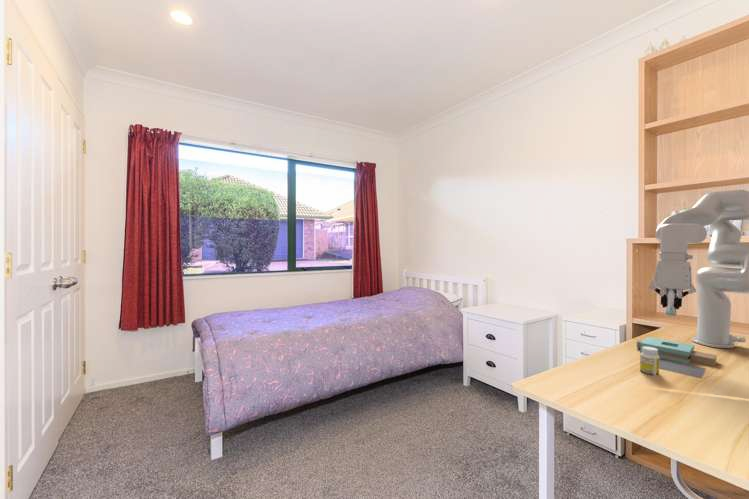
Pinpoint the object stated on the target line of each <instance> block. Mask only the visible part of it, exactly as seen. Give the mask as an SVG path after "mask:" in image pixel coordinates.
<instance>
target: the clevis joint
mask: <svg viewBox="0 0 749 499" xmlns="http://www.w3.org/2000/svg"><path fill="white" fill-rule="evenodd" d="M644 346H647V347H653V348H656V349H658V354H657V355H658V356H659V358H660V359H665V360H669V361H674V362H679V363H683V364H690V363H691V362H692V363H697V364H701V365H706V366H710V367H716V363H717V356H718V355H717V354H713V353H707V352H702V351H697V350H695V344H691V343H686V342H680V341H675V340H669V339H664V338H658V337H651V336H647V337H645V338H644V339H643V340H639V339H638V340H637V341H636V349H639V353H640V354H641V353H642V347H644Z"/></svg>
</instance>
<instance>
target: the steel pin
mask: <svg viewBox="0 0 749 499" xmlns="http://www.w3.org/2000/svg"><path fill="white" fill-rule="evenodd" d="M665 294H666V307H665V308H664V309H665V310H664V311H665V313H664V315H665V316H671V317H672V316H673V317H674V316H675V317H677V309H675V305H676V298H677V296H678V294H677V289H667V288H666V293H665Z"/></svg>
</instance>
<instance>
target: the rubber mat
mask: <svg viewBox="0 0 749 499" xmlns="http://www.w3.org/2000/svg"><path fill="white" fill-rule="evenodd" d="M659 370H663V371H668V372H672V373H676V374H679V375H685V376H690V377H694V378H698V379H702V378H703V376H704V374H705V371H706V370H707V368H705V367H702V366H696V365H692V364H689V363H684V362H679V361H675V360H670V359H665V358H660V357H659Z"/></svg>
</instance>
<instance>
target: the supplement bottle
mask: <svg viewBox="0 0 749 499" xmlns="http://www.w3.org/2000/svg"><path fill="white" fill-rule="evenodd" d="M657 354H658V349H656V348H653V347H647V346H644V347H642V353H640V359H639V372H640V373H642V374H644V375H649V376H660V369H659V358H660V357H659V356H658V355H657Z"/></svg>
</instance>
